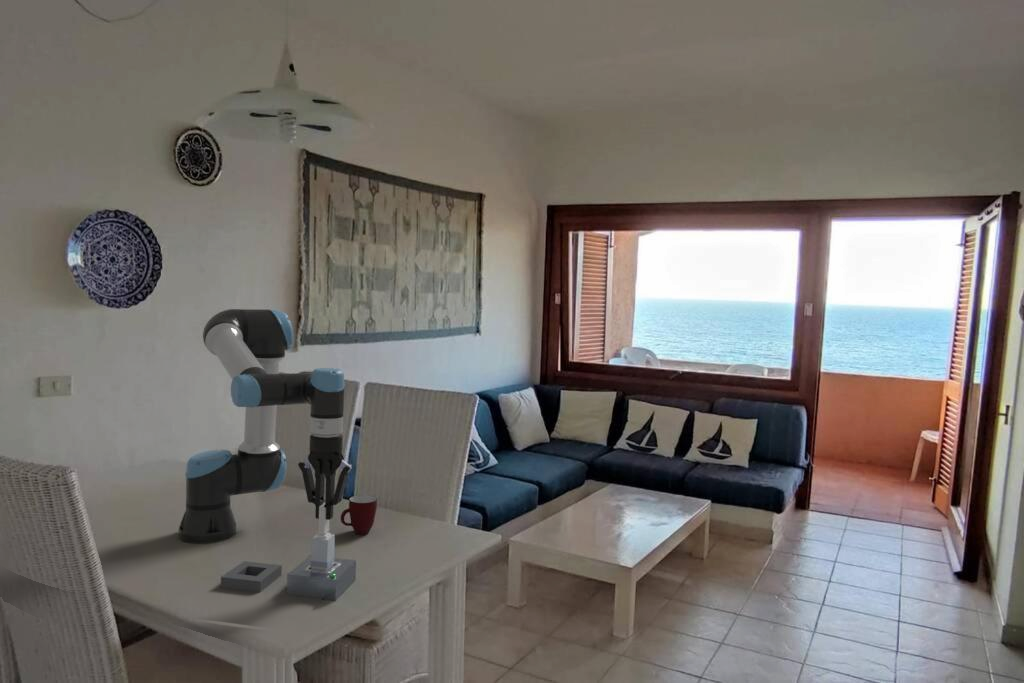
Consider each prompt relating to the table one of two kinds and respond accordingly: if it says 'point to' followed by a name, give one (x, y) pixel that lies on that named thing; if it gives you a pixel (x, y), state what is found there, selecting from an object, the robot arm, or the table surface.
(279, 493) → the table surface
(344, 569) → the port
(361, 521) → the mug
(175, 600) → the table surface
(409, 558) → the table surface
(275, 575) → the holster
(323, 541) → the plug
